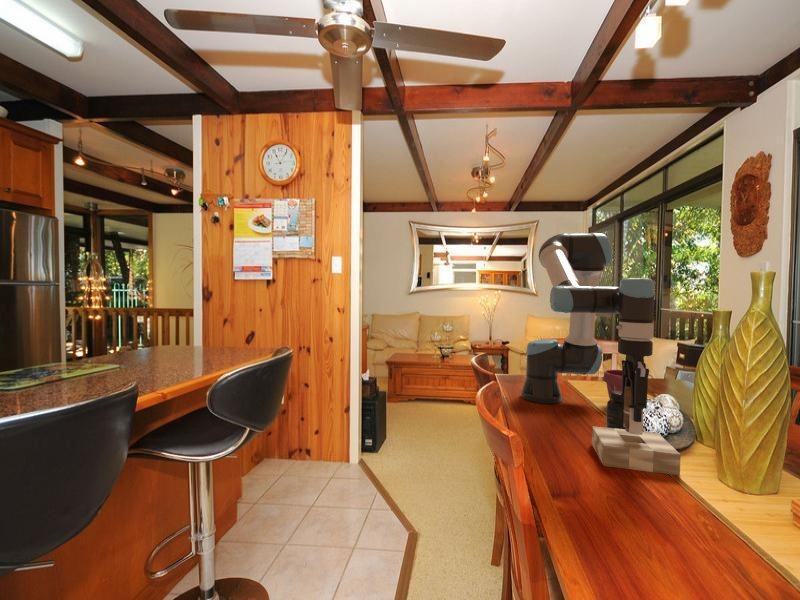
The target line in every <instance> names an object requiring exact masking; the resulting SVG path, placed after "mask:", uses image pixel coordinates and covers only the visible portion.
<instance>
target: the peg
mask: <svg viewBox="0 0 800 600" xmlns="http://www.w3.org/2000/svg"><path fill="white" fill-rule="evenodd" d="M628 405H631V387H625V392H624V425H625V431H627V432H629V420H630V408H629V407H628Z"/></svg>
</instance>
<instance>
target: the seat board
mask: <svg viewBox="0 0 800 600" xmlns="http://www.w3.org/2000/svg"><path fill="white" fill-rule="evenodd" d="M591 446H592V447H593V449H594V451H595V453H596V454H597V456H598V459H599V460H600V462H601V464H602V466H604V467H608V468H609V467H610V468H615V469H616V468H618V469H624V470H625V469H626V470H633V471H642V472H649V473H657V474H664V475H674V476H679V475H681V453H680V452H679V451H678V450H677V449H675V447H674V446H672V445H671V444H670V443H669V442H668V441H667V440H666V439H665V438H664V437H663V436H662V435H661V434H660V433H659V432H652V431H644V430H643V431H642V435H639V434H630V433H629V432H627V431H625V429H615V428H606V426H605V427H603V426H591Z"/></svg>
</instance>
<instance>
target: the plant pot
mask: <svg viewBox="0 0 800 600" xmlns="http://www.w3.org/2000/svg"><path fill="white" fill-rule="evenodd" d="M603 382H605V383H606V388H607V389H606V390H607V394H608V398H609V400H611V399H612V398H611V391H622V369H607V370H604V371H603Z"/></svg>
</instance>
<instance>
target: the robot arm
mask: <svg viewBox="0 0 800 600" xmlns="http://www.w3.org/2000/svg"><path fill="white" fill-rule="evenodd" d="M611 245H612V244H611V242H610V239H609V238H608V236H607V235H606V234H604V233H598V232H588V233H587V232H586V233H585V232H584V233H560V234H556V235H553V236H551V237H549V238H548V239H547V240H545V241H544V242H543V243H542V245H541V246H540V248H539V251H538V261H539V263H540V265H541V266H542V267H543V268H544V269H545V270H546V273H547V274H548V277H549V280H550V284H551V286H552V288H551V289H550V294H549V303H550V309H551V310H552V311H553V312H554V313H564V314H570V315H569V327H568V329H569V330H568V335H566V336H565V337H564V341H563V343H562V342H561V343H560V342H559V340H558V339H556V338H555V339H554V338H551V339H550V338H545V339H543V338H542V339H536V340H535V339H534V340H531V341H529V342H528V343H527V344H526V345H527V346H526V353H525V355H526V370H525V371H526V373H525V375H526V377H525V381H524V383H523V385H522V389H521V391H520V397H521V398H522V399H524V400H525V401H529V402H533V403H538V404H558V403H559V404H560V403H561V402H562V401H563V399H562V398H563V396H562V391H561V388H560V384H559V381H558V374H569V375H570V374H572V375H583V376H585V375H595V374H597V373H598V372H599V370H600V369H601V366H602V362H603V349H602V347H601V346H600V345H599V344H598V340H597V339H596V338H595V336H594V334H595V323H596V314H617V315H618V325H616V327H615V328H616V329H617V330H618V337H620V338H618V340H617V353H618V354H620V355H625V359H621V361H620V362H621V370H622V397H624V392H625V387H631V405H628V407H629V408H630V420H629V433H630V434H639V435H642V431H644V430H643V426H644V424H643V423H644V422H643V421H644V409H648V387H649V386H648V385H649V381H648V380H649V374H650V369H649V368H647V365H646V363H645V357H651V356H652V355H653V352H654V351H653V349H654V348H653V347H654V346H653V345H654V343H653V341H652V339H654V315H655V314H654V312H655V311H654V308H655V295H656V293H655V281H654V280H653V279H652V278H648V277H647V278H646V277H634V278H632V277H630V278H629V277H627V278H622V279H620V281H619V286H599V276H600V274H602V273H603V272H604V271H605V270H604V269H605V267H606V266H609V265H610V263H611V260H612V246H611ZM623 399H624V398H623ZM624 427H625V425H624Z"/></svg>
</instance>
